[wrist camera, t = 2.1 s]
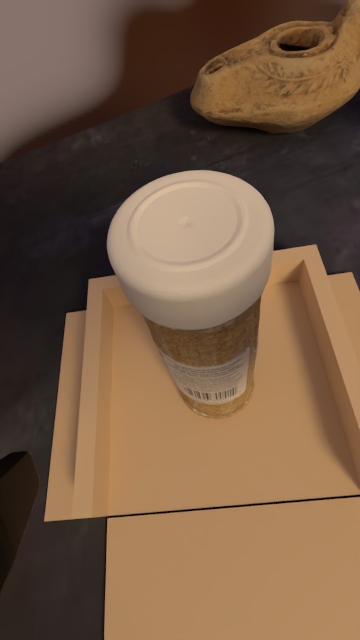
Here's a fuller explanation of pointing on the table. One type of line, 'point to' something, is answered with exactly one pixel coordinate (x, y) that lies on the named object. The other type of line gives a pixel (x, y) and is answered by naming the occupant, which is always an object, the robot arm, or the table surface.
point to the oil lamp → (284, 75)
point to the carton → (219, 468)
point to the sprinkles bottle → (198, 280)
